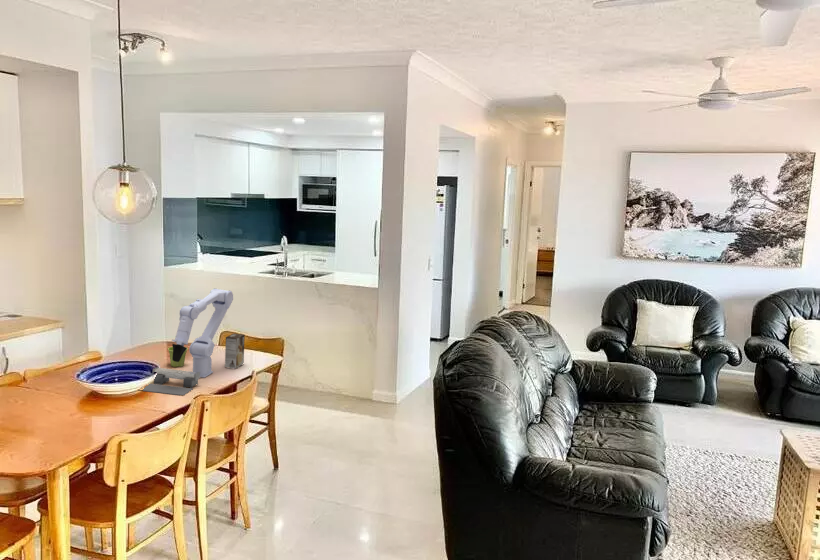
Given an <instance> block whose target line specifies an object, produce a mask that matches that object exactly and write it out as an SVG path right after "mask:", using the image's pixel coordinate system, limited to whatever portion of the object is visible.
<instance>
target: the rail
mask: <svg viewBox="0 0 820 560" xmlns="http://www.w3.org/2000/svg"><path fill="white" fill-rule="evenodd" d="M153 372H157V375H163V377H164V378H169V379H175V380H182V381H183V378H191V379H192V381H197V380H198V381H199V380H200V378H201V377H200V372H193V371H190V370H181V369H172V368H164V367H163V368H162V367H158V366H157V367H155V368H153V369H152V373H153Z"/></svg>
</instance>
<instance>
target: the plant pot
mask: <svg viewBox="0 0 820 560" xmlns="http://www.w3.org/2000/svg"><path fill="white" fill-rule="evenodd" d="M185 347H186V346H185ZM186 348H187V349H186V350H185V352H184V353H183V355H182V357H181V359H180V361H179V362H175V361H173V360H172V358H173V346H170V347H168V348H167V350H168V353H169V360H170V366H171V367H173V368H177V367H183V366H184V365H185V359H186V354H187V351H188V350H189V348H188V347H186Z"/></svg>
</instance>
